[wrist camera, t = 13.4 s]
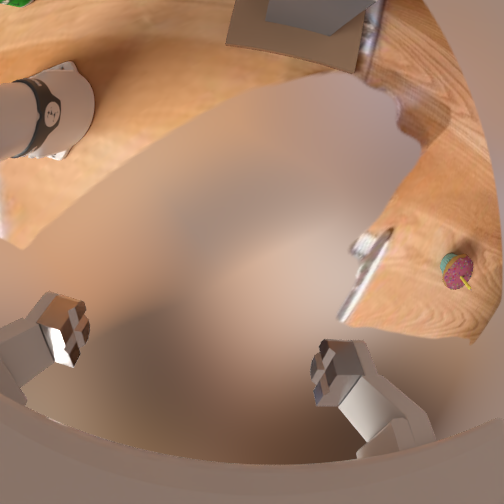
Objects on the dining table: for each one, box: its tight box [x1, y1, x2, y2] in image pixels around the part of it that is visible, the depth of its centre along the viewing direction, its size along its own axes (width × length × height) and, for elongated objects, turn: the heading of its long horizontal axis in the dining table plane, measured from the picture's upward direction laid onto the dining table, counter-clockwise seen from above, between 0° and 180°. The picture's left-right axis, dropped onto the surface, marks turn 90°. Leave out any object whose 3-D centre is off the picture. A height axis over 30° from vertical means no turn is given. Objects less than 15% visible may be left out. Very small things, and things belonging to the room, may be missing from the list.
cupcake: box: [440, 253, 473, 290], centre depth 48 cm, size 9×8×12 cm
